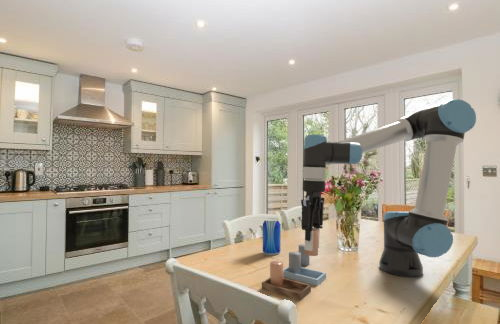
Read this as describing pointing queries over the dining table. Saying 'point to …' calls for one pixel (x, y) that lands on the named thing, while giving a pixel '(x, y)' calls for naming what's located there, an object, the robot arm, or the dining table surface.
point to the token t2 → (314, 244)
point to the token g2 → (303, 255)
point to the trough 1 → (288, 288)
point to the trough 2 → (306, 276)
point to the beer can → (271, 236)
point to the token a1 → (276, 273)
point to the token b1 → (295, 262)
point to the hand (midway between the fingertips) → (311, 248)
